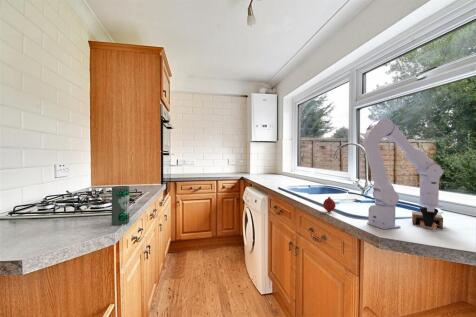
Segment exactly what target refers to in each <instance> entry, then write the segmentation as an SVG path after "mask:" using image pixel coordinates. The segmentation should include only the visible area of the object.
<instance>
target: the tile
mask: <svg viewBox="0 0 476 317" xmlns="http://www.w3.org/2000/svg"><path fill="white" fill-rule="evenodd" d="M418 224H419V227H420V228H423V229H424V228H425V229H431V230H437V229H438V228H437V227H438V225H437V224H436V222H435V221H433V225H432V227H429V226H425V224H424V220H423V219H419V223H418Z"/></svg>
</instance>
